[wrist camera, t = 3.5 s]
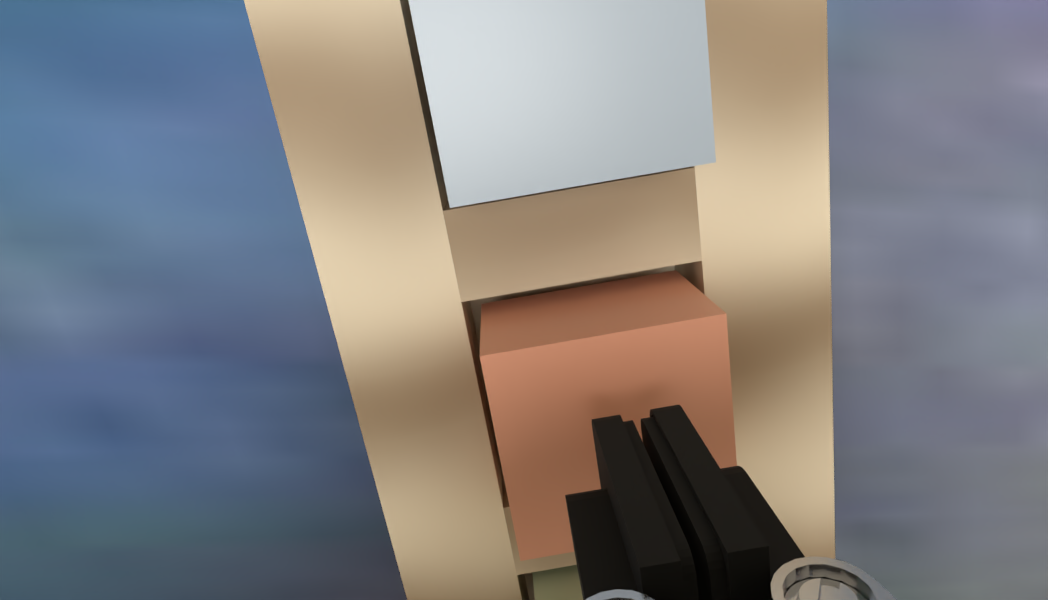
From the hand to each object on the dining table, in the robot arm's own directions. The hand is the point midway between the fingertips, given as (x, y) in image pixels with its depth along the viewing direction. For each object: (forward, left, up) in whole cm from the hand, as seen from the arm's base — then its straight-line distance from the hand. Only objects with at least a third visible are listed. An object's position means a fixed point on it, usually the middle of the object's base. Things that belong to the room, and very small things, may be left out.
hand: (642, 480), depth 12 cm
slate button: (+8, 0, -5) cm, 9 cm away
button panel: (0, 0, -8) cm, 8 cm away
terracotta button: (0, 0, -5) cm, 5 cm away
